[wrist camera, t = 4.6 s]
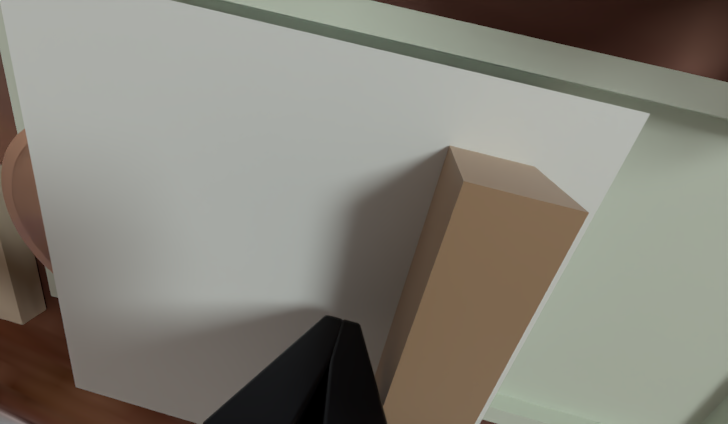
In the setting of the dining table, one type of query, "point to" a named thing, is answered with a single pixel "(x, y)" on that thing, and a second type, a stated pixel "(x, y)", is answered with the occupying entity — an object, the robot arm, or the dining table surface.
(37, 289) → the birch coaster
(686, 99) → the propagator bed
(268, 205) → the frosted cover
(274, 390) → the robot arm
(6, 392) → the dining table surface
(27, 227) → the round cabinet knob
